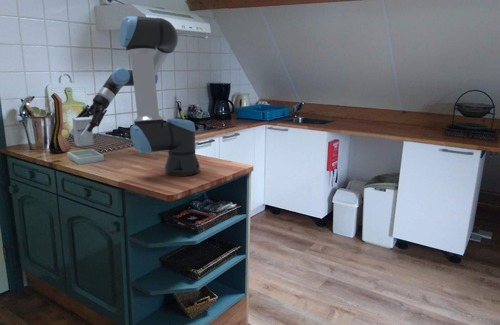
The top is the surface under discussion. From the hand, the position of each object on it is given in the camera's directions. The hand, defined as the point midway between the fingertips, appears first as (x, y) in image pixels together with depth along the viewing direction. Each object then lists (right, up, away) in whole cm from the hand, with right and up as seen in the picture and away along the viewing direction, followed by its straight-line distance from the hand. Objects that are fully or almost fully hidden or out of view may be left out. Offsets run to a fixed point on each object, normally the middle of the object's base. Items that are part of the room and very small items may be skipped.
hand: (77, 135), depth 185 cm
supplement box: (+2, -4, +4) cm, 6 cm away
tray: (+2, -11, +5) cm, 13 cm away
